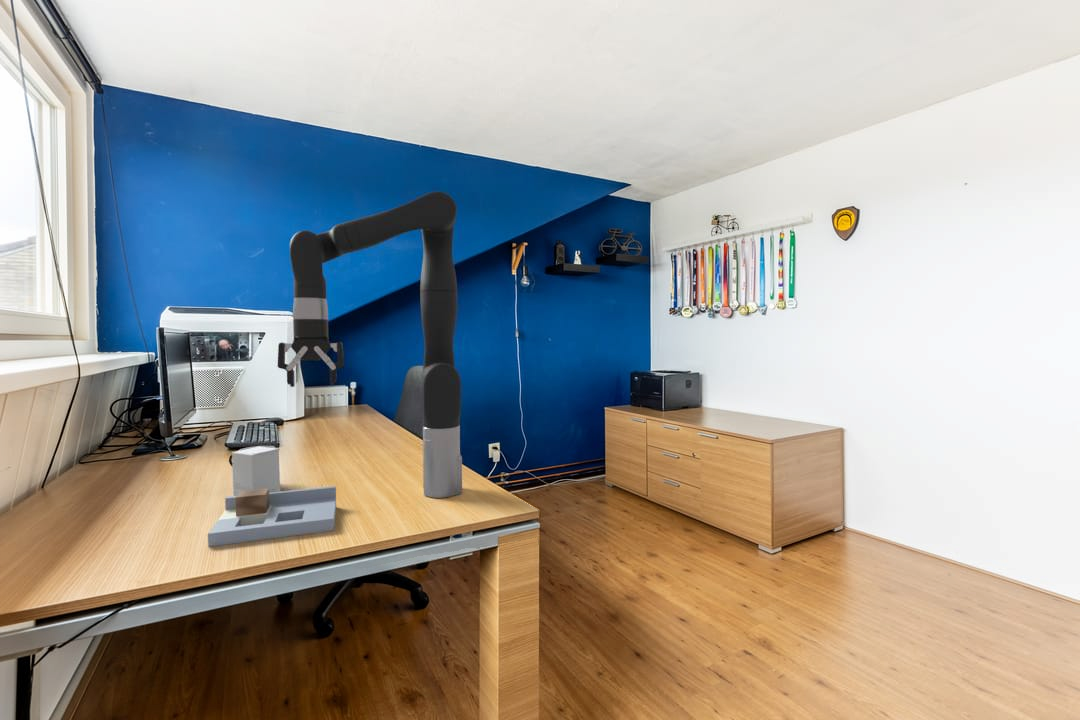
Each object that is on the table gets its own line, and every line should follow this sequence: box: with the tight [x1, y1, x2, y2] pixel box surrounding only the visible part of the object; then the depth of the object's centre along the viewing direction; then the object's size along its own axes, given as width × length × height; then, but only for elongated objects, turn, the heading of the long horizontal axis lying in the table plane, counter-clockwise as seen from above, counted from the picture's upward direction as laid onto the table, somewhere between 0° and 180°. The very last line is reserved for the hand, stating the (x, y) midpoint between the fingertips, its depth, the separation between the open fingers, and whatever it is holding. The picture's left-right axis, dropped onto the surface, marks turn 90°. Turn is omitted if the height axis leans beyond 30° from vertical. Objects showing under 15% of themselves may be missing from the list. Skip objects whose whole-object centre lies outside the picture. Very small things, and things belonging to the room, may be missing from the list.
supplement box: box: [231, 445, 281, 496], centre depth 119 cm, size 7×7×13 cm
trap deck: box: [207, 485, 337, 547], centre depth 104 cm, size 22×15×5 cm
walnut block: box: [235, 488, 269, 516], centre depth 105 cm, size 6×4×4 cm
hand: (312, 385), depth 118 cm, fingers open, 8 cm apart
